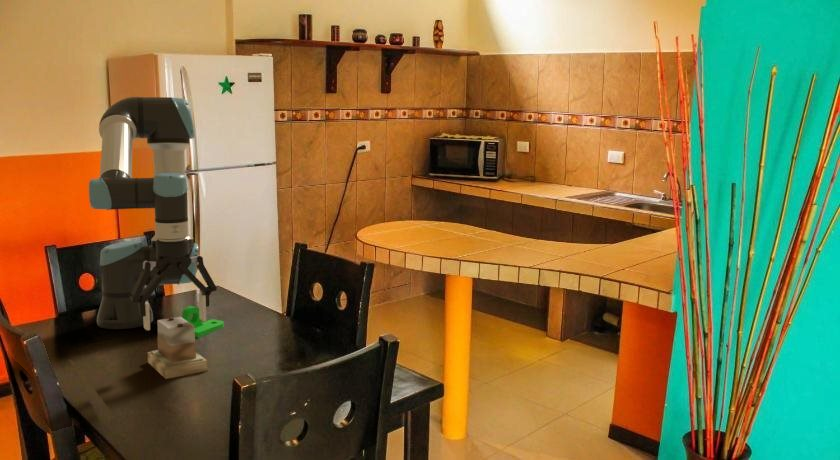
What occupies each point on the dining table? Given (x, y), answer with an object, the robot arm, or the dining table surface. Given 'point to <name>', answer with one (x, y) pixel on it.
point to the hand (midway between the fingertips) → (175, 324)
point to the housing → (176, 339)
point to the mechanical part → (200, 326)
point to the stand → (176, 365)
